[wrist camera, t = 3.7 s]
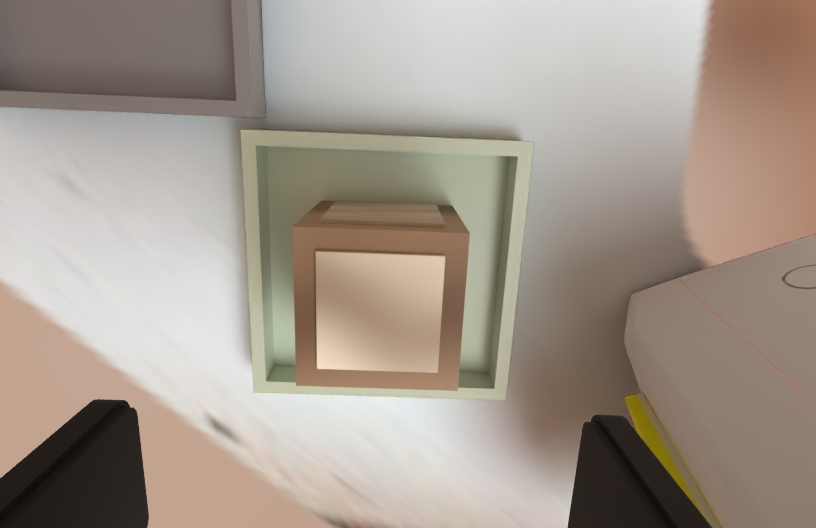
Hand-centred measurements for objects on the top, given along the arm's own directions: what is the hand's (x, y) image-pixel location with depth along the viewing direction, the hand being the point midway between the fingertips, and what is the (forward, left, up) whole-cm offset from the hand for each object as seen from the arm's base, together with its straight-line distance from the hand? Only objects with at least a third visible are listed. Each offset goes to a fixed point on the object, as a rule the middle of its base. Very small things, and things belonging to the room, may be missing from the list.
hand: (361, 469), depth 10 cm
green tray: (-1, 0, -14) cm, 14 cm away
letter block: (-1, 0, -14) cm, 14 cm away
